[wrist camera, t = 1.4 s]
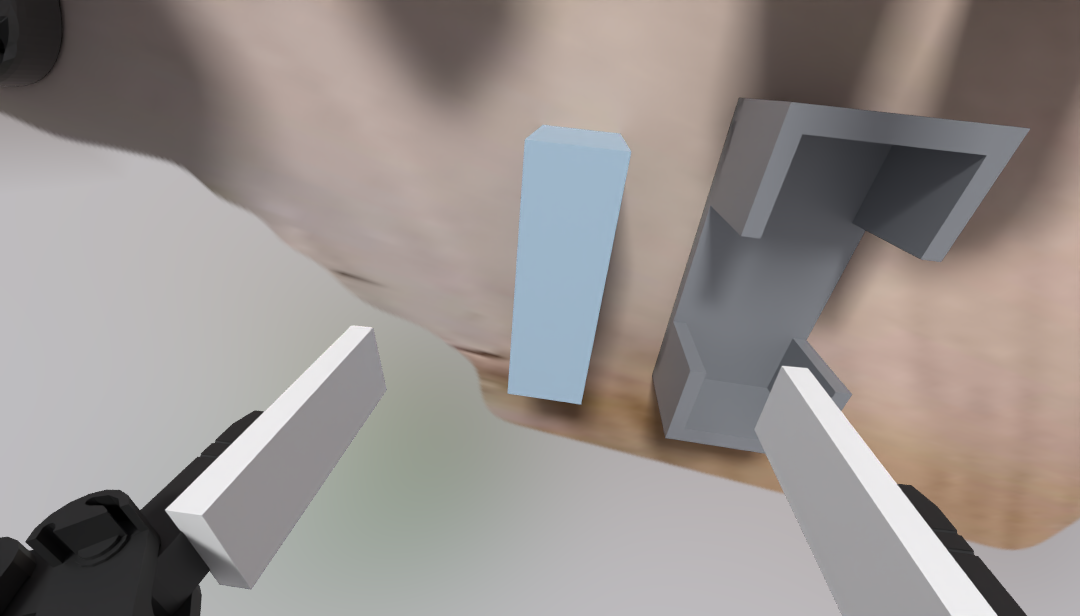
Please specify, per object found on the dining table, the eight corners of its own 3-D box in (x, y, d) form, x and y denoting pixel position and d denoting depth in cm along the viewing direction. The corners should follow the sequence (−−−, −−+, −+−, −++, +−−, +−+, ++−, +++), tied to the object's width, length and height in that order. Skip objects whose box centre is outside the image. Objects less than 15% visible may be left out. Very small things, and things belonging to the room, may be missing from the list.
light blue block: (524, 329, 33) (507, 393, 26) (543, 124, 25) (524, 139, 18) (583, 337, 33) (581, 404, 26) (620, 133, 25) (631, 151, 18)
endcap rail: (652, 375, 34) (665, 438, 28) (738, 97, 23) (791, 102, 17) (768, 392, 33) (808, 460, 27) (913, 117, 23) (1030, 128, 17)
